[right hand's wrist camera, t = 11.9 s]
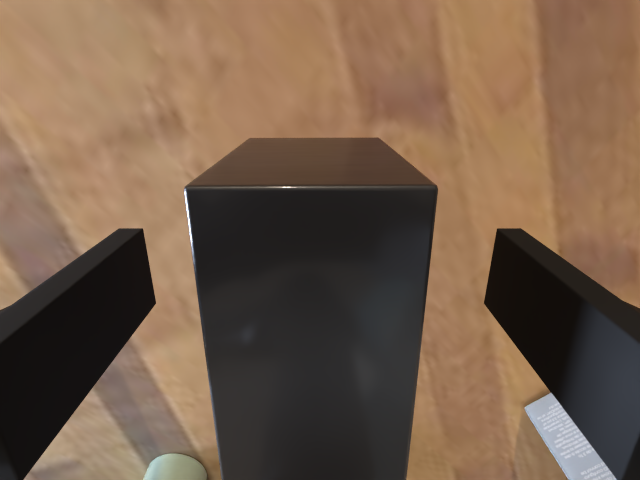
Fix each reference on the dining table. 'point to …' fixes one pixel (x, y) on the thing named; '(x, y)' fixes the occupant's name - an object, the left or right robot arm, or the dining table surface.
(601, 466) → the hard drive box
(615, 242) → the dining table surface
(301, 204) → the plank
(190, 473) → the mint green cylinder
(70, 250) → the dining table surface
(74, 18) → the dining table surface
